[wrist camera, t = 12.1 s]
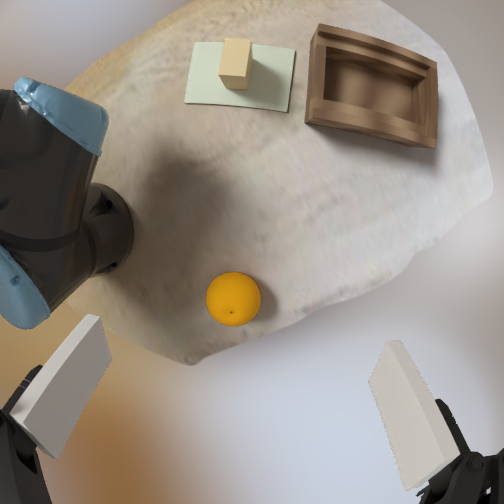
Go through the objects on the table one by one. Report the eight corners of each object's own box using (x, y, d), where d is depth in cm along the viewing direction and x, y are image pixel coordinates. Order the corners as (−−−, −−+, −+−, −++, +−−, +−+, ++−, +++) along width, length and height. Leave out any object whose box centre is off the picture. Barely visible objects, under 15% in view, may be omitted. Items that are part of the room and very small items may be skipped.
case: (304, 122, 33) (313, 117, 27) (310, 41, 28) (319, 23, 22) (411, 146, 33) (435, 148, 27) (414, 71, 28) (436, 62, 22)
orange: (208, 305, 44) (200, 333, 37) (211, 261, 41) (201, 285, 34) (257, 311, 44) (256, 341, 37) (264, 268, 41) (264, 293, 34)
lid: (185, 103, 33) (167, 93, 26) (196, 43, 29) (182, 22, 22) (286, 112, 33) (293, 102, 26) (294, 51, 30) (301, 30, 22)
